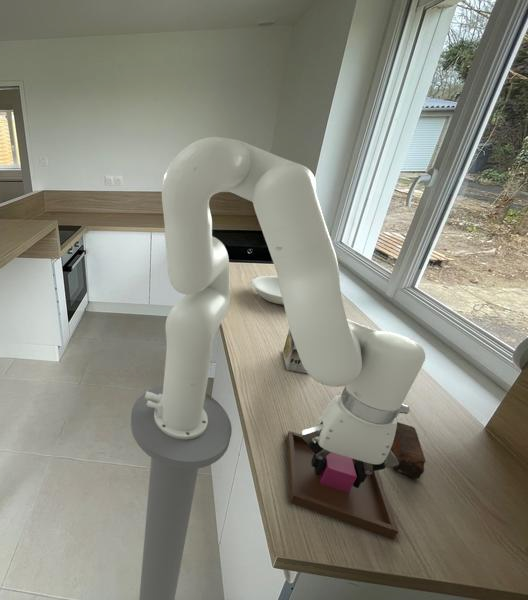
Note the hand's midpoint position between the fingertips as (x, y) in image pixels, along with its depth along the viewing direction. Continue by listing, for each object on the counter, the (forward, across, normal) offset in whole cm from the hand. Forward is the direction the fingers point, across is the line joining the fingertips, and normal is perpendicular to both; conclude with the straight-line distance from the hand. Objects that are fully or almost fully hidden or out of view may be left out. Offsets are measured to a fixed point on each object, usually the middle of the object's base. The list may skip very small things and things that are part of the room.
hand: (335, 474), depth 61 cm
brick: (+2, -14, -12) cm, 19 cm away
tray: (+2, 0, 0) cm, 2 cm away
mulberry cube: (+1, 0, 0) cm, 1 cm away
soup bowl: (+2, +8, -85) cm, 85 cm away
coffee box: (+2, +4, -39) cm, 39 cm away
